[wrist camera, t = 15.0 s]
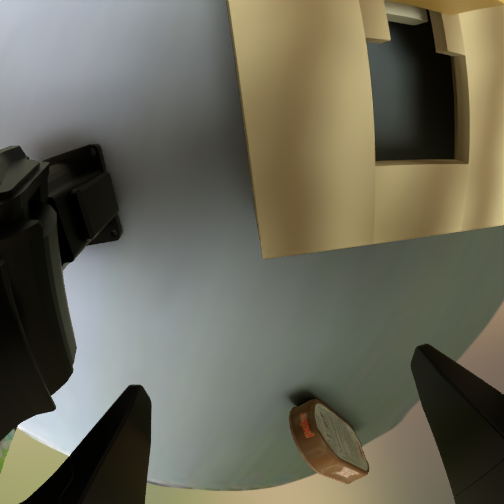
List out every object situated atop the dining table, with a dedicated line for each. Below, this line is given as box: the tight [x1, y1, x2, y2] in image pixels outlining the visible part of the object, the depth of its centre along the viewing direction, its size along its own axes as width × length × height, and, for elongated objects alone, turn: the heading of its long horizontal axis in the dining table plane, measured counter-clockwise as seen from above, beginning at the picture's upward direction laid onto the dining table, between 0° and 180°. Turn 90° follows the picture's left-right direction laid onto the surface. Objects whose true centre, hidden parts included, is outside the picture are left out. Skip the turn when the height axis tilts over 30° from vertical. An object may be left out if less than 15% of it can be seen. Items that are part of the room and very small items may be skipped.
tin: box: [289, 399, 369, 484], centre depth 27 cm, size 15×3×8 cm, turn 36°
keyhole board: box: [226, 0, 504, 259], centre depth 11 cm, size 16×22×6 cm
